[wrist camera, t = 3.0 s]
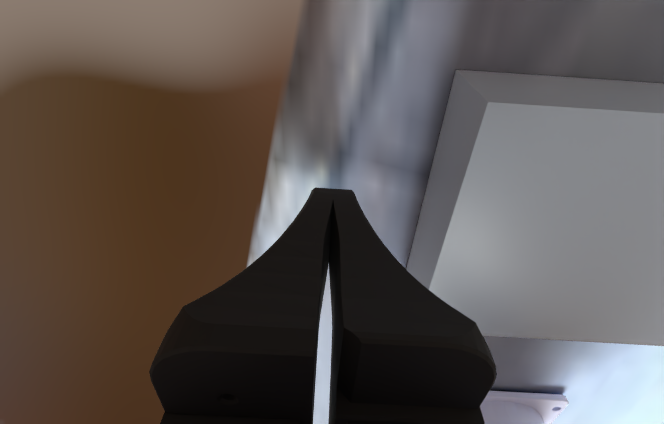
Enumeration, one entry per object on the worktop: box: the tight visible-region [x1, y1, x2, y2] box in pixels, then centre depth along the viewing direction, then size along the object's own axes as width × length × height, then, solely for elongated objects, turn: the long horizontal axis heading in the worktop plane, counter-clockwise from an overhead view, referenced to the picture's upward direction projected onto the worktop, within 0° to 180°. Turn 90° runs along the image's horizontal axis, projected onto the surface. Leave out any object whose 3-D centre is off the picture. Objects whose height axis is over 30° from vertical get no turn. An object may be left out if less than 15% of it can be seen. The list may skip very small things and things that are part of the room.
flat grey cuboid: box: [406, 70, 664, 346], centre depth 13 cm, size 9×14×3 cm, turn 87°
